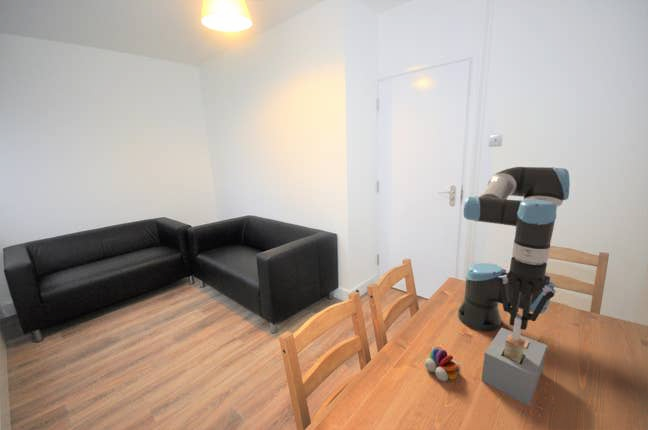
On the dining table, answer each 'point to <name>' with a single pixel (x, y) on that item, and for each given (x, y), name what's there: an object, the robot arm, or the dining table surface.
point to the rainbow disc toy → (442, 365)
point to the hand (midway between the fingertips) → (516, 336)
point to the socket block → (514, 367)
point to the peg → (514, 349)
